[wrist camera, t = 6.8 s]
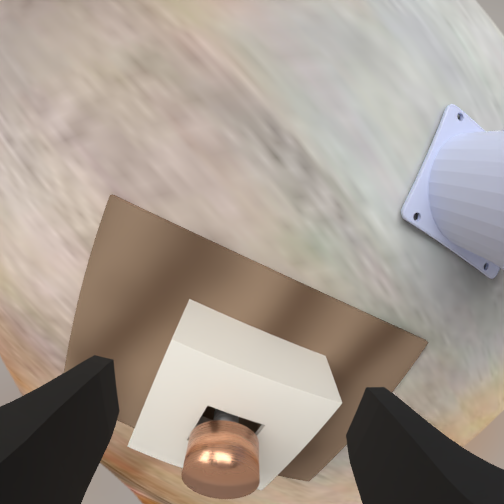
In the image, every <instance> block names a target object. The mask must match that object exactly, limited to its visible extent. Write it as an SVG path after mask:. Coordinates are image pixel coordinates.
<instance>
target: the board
mask: <svg viewBox="0 0 504 504" xmlns="http://www.w3.org/2000/svg"><path fill="white" fill-rule="evenodd" d="M189 299H191V300H193V301H195V302H198V303H200V304H202V305H204V306H206V307H209V308H211V309H213V310H215V311H218V312H220V313H222V314H224V315H227V316H229V317H231V318H234V319H236V320H238V321H240V322H243V323H245V324H247V325H250V326H252V327H255V328H257V329H259V330H262V331H264V332H266V333H269V334H271V335H274V336H276V337H279V338H281V339H284V340H286V341H289V342H291V343H294V344H296V345H299V346H301V347H304V348H306V349H309V350H311V351H314V352H317V353H319V354H322V355H324V356H326V358H327V361H328V364H329V367H330V369H331V372H332V375H333V378H334V381H335V383H336V386H337V389H338V392H339V395H340V398H341V400H342V404H341V405H340V407H339V408H338V409H337V410H336V412H335V413H334V414H333V415H332V416H331V418H330V419H329V420H328V421H327V422H326V423H325V425H324V426H323V427H322V428H321V429H320V430H319V432H318V433H317V434H316V435H315V436H314V437H313V438H312V439H311V441H310V442H309V443H308V444H307V445H306V446H305V447H304V448H303V449H302V450H301V451H300V453H299V454H298V455H297V456H296V457H295V458H294V459H293V460H292V461H291V462H290V463H289V464H288V465H287V466H286V467H285V468H284V469H283V470H282V471H281V472H280V473H279V474H278V475H279V476H283V477H288V478H293V479H298V480H304V481H310V480H311V479H312V478H313V477H314V476H315V475H316V474H317V473H318V472H319V471H320V470H321V469H323V468H324V467H325V466H326V465H327V464H328V463H329V462H330V461H331V460H332V459H333V458H334V457H335V456H336V455H337V454H338V453H339V452H340V451H341V450H342V449H343V448H344V447H345V445H346V444H347V439H346V434H347V431H348V429H349V427H350V425H351V422H352V420H353V418H354V415H355V413H356V411H357V408H358V406H359V404H360V401H361V399H362V396H363V394H364V391H365V389H366V387H385V388H386V389H388V390H389V391H390V392H392V391H393V390H394V389H395V388H396V386H397V385H398V384H399V383H400V381H401V380H402V379H403V377H404V376H405V375H406V373H407V372H408V371H409V369H410V368H411V366H412V365H413V364H414V362H415V361H416V360H417V358H418V357H419V355H420V354H421V352H422V351H423V350H424V348H425V347H426V345H427V344H428V342H427V341H426V340H425V339H423V338H420V337H418V336H416V335H414V334H412V333H409V332H407V331H405V330H403V329H401V328H398V327H396V326H394V325H392V324H390V323H387V322H385V321H383V320H381V319H379V318H376V317H374V316H372V315H370V314H368V313H366V312H363V311H361V310H359V309H357V308H355V307H352V306H350V305H348V304H346V303H344V302H342V301H339V300H337V299H335V298H333V297H331V296H329V295H326V294H324V293H322V292H320V291H318V290H316V289H313V288H311V287H309V286H307V285H305V284H303V283H300V282H298V281H296V280H294V279H292V278H290V277H287V276H285V275H283V274H281V273H279V272H277V271H274V270H272V269H270V268H268V267H266V266H264V265H262V264H259V263H257V262H255V261H253V260H251V259H249V258H247V257H244V256H242V255H240V254H238V253H236V252H234V251H232V250H229V249H227V248H225V247H223V246H221V245H219V244H217V243H214V242H212V241H210V240H208V239H206V238H204V237H202V236H200V235H197V234H195V233H193V232H191V231H189V230H187V229H185V228H183V227H180V226H178V225H176V224H174V223H172V222H170V221H168V220H166V219H163V218H161V217H159V216H157V215H155V214H153V213H151V212H149V211H146V210H144V209H142V208H140V207H138V206H136V205H134V204H132V203H130V202H128V201H125V200H123V199H121V198H119V197H117V196H115V195H110V197H109V200H108V202H107V205H106V208H105V211H104V214H103V217H102V220H101V223H100V226H99V229H98V232H97V235H96V238H95V241H94V245H93V248H92V251H91V255H90V258H89V262H88V265H87V269H86V272H85V276H84V280H83V284H82V287H81V291H80V295H79V300H78V304H77V308H76V312H75V317H74V321H73V326H72V331H71V336H70V341H69V346H68V352H67V358H66V363H65V370H64V373H65V372H67V371H68V370H70V369H72V368H73V367H75V366H76V365H78V364H80V363H81V362H83V361H85V360H87V359H88V358H90V357H92V356H94V355H96V356H100V357H105V358H109V359H113V360H114V370H115V379H116V388H117V396H118V403H119V410H120V412H119V415H118V418H117V420H118V421H120V422H122V423H124V424H127V425H129V426H131V427H133V428H135V426H136V424H137V421H138V419H139V416H140V414H141V411H142V409H143V406H144V404H145V401H146V399H147V397H148V394H149V392H150V389H151V387H152V384H153V382H154V380H155V377H156V375H157V372H158V370H159V368H160V365H161V363H162V361H163V358H164V356H165V354H166V351H167V349H168V347H169V344H170V342H171V340H172V337H173V335H174V333H175V330H176V328H177V326H178V324H179V321H180V319H181V317H182V315H183V312H184V310H185V308H186V306H187V304H188V301H189ZM214 411H215V408H213V407H210V406H207V407H206V409H205V411H204V412H203V414H202V416H203V417H206V418H208V419H211V420H213V419H214ZM238 423H239V424H242V425H244V426H246V427H248V428H249V429H251V430H252V431H253V432H254V433H256V431H257V430H258V429H259V428H260V426H261V425H262V424H260V423H257V422H253V421H250V420H247V419H244V418H241V417H239V422H238Z"/></svg>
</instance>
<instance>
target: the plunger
mask: <svg viewBox="0 0 504 504" xmlns="http://www.w3.org/2000/svg"><path fill="white" fill-rule="evenodd" d="M238 422H239V417H238V416H235V415H232V414H230V413H227V412H224V411H221V410H218V409H216V408H215V411H214V419H213V421H208V422H205V423H202V424H200V425H198V426H196V427H195V428H194V429H193V430H192V431H191V433H190V436H189V441H188V446H187V450H186V455H185V460H184V465H183V470H182V480H183V482H184V483H185V484H186V485H187V486H188V487H189V488H190V489H191V490H193V491H195V492H197V493H199V494H201V495H204V496H207V497H212V498H218V499H234V498H240V497H244V496H246V495H249V494H251V493H252V492H254V491H255V490H256V489H257V488H258V486H259V483H260V475H259V441H258V438H257V436H256V434H255V433H254V432H253V431H252V430H251V429H249V428H248V427H246V426H244V425H242V424H239V423H238Z"/></svg>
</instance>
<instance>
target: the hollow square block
mask: <svg viewBox="0 0 504 504" xmlns="http://www.w3.org/2000/svg"><path fill="white" fill-rule="evenodd" d="M341 404H342V400H341V398H340V395H339V392H338V389H337V386H336V383H335V381H334V378H333V375H332V372H331V369H330V367H329V364H328V361H327V358H326V356H324V355H322V354H319V353H317V352H314V351H311V350H309V349H306V348H304V347H301V346H299V345H296V344H294V343H291V342H289V341H286V340H284V339H281V338H279V337H276V336H274V335H271V334H269V333H266V332H264V331H262V330H259V329H257V328H255V327H252V326H250V325H247V324H245V323H243V322H240V321H238V320H236V319H234V318H231V317H229V316H227V315H224V314H222V313H220V312H218V311H215V310H213V309H211V308H209V307H206V306H204V305H202V304H200V303H198V302H195V301H193V300H191V299H189V301H188V304H187V306H186V308H185V310H184V312H183V315H182V317H181V319H180V321H179V324H178V326H177V328H176V330H175V333H174V335H173V337H172V340H171V342H170V344H169V347H168V349H167V351H166V354H165V356H164V358H163V361H162V363H161V365H160V368H159V370H158V372H157V375H156V377H155V380H154V382H153V384H152V387H151V389H150V392H149V394H148V397H147V399H146V401H145V404H144V406H143V409H142V411H141V414H140V416H139V419H138V421H137V424H136V426H135V429H134V431H133V434H132V436H131V439H130V441H129V444H128V446H127V447H130V448H132V449H134V450H137V451H139V452H141V453H144V454H146V455H149V456H151V457H154V458H156V459H159V460H161V461H164V462H167V463H169V464H172V465H175V466H178V467H181V468H183V465H184V460H185V455H186V450H187V446H188V441H189V436H190V433H191V431H192V430H193V429H194V428H195V427H196V426H198V425H200V424H202V423H205V422H208V421H213V420H211V419H208V418H206V417H203V416H202V414H203V412H204V411H205V409H206V407H207V406H210V407H213V408H216V409H218V410H221V411H224V412H227V413H230V414H232V415H235V416H238V417H241V418H244V419H247V420H250V421H253V422H257V423H260V424H262V425H261V426H260V428H259V429H258V430H257V431H256V433H255V434H256V436H257V438H258V441H259V475H260V483H259V486H258V488H257V489H258V490H263V489H264V488H265V487H266V486H267V485H268V484H269V483H270V482H271V481H272V480H273V479H274V478H275V477H276V476H277V475H278V474H279V473H280V472H281V471H282V470H283V469H284V468H285V467H286V466H287V465H288V464H289V463H290V462H291V461H292V460H293V459H294V458H295V457H296V456H297V455H298V454H299V453H300V451H301V450H302V449H303V448H304V447H305V446H306V445H307V444H308V443H309V442H310V441H311V439H312V438H313V437H314V436H315V435H316V434H317V433H318V432H319V430H320V429H321V428H322V427H323V426H324V425H325V423H326V422H327V421H328V420H329V419H330V418H331V416H332V415H333V414H334V413H335V412H336V410H337V409H338V408H339V407H340V405H341Z"/></svg>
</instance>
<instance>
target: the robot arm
mask: <svg viewBox="0 0 504 504" xmlns="http://www.w3.org/2000/svg"><path fill="white" fill-rule="evenodd" d="M457 114H459V116H460V120H459V119H458V118H457ZM415 213H418V218H417V219H416V220H414V218H413V217H414V214H415ZM401 215H402V218H403V219H404V220H406V221H408V222H409V223H411V224H412V225H414V226H415V227H417V228H418V229H420V230H422V231H423V232H425V233H426V234H428V235H429V236H431V237H432V238H434V239H435V240H437V241H438V242H439V243H441V244H442V245H444V246H445V247H447V248H448V249H450V250H451V251H453V252H454V253H455V254H457V255H458V256H460V257H461V258H462V259H464V260H465V261H467V262H468V263H469V264H471V265H472V266H474V267H475V268H476V269H478V270H479V271H480V272H482V273H483V274H484V275H486V276H487V277H488V278H490V279H493V278H495V277H496V275H497V274H498V272H499V269H500V268H502V269H504V130H501V131H485V130H483V129H482V128H481V127H480V126H479V125H478V124H477V123H476V122H475V121H474V120H473V119H471V118H470V117H469V116H468V115H467V114H466V113H465V112H463V111H462V110H461V109H460V108H459V107H457V106H456V105H454V104H450V105H448V106H447V107H446V109H445V111H444V114H443V116H442V119H441V122H440V124H439V127H438V129H437V131H436V134H435V136H434V139H433V141H432V143H431V146H430V148H429V151H428V153H427V155H426V157H425V160H424V162H423V164H422V166H421V169H420V171H419V173H418V175H417V177H416V180H415V182H414V184H413V186H412V188H411V190H410V192H409V194H408V197H407V199H406V201H405V203H404V205H403V207H402V209H401ZM485 263H486V265H485ZM484 265H485V267H484ZM119 412H120V410H119V403H118V396H117V388H116V379H115V370H114V360H113V359H109V358H105V357H100V356H96V355H94V356H92V357H90V358H88V359H87V360H85V361H83V362H81V363H80V364H78V365H76V366H75V367H73V368H72V369H70V370H68V371H67V372H65V373H63V374H62V375H60V376H58V377H57V378H55V379H53V380H51V381H50V382H48V383H46V384H45V385H43V386H41V387H39V388H37V389H35V390H34V391H32V392H30V393H28V394H26V395H24V396H22V397H20V398H18V399H16V400H14V401H12V402H10V403H8V404H6V405H3V406H1V407H0V504H81V502H82V500H83V497H84V495H85V492H86V490H87V488H88V486H89V484H90V482H91V479H92V477H93V475H94V473H95V471H96V469H97V467H98V465H99V463H100V461H101V459H102V456H103V454H104V452H105V450H106V448H107V446H108V444H109V442H110V439H111V437H112V434H113V431H114V428H115V425H116V421H117V418H118V415H119ZM346 439H347V446H348V453H349V459H350V464H351V467H352V470H353V474H354V477H355V480H356V484H357V487H358V490H359V493H360V496H361V500H362V503H363V504H504V470H503V469H501V468H498V467H496V466H494V465H492V464H490V463H488V462H486V461H484V460H483V459H481V458H479V457H477V456H476V455H474V454H472V453H470V452H469V451H467V450H466V449H464V448H462V447H461V446H460V445H458V444H457V443H455V442H454V441H452V440H451V439H449V438H448V437H447V436H445V435H444V434H443V433H441V432H440V431H439V430H437V429H436V428H435V427H433V426H432V425H431V424H430V423H428V422H427V421H426V420H425V419H423V418H422V417H421V416H420V415H419V414H417V413H416V412H415V411H414V410H413V409H411V408H410V407H409V406H408V405H407V404H405V403H404V402H403V401H402V400H400V399H399V398H398V397H397V396H395V395H394V394H393V393H392V392H390V391H389V390H388V389H386V388H385V387H366V389H365V391H364V394H363V396H362V399H361V401H360V404H359V406H358V408H357V411H356V413H355V415H354V418H353V420H352V422H351V425H350V427H349V429H348V431H347V434H346Z"/></svg>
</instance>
